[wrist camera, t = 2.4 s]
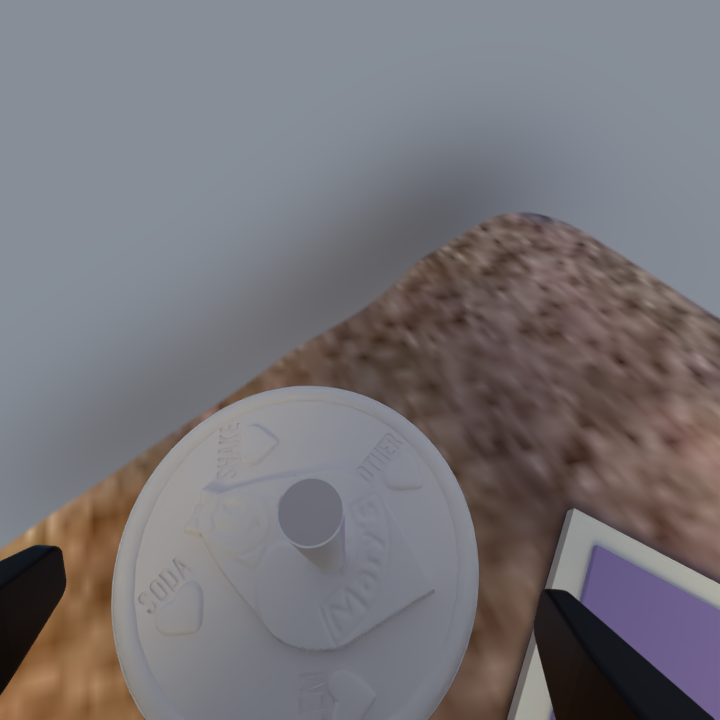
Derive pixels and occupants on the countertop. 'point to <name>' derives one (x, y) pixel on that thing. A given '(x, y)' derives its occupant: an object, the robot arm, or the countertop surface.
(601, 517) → the countertop surface
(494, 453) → the countertop surface
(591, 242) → the countertop surface
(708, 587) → the ink pad
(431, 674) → the smoothie
